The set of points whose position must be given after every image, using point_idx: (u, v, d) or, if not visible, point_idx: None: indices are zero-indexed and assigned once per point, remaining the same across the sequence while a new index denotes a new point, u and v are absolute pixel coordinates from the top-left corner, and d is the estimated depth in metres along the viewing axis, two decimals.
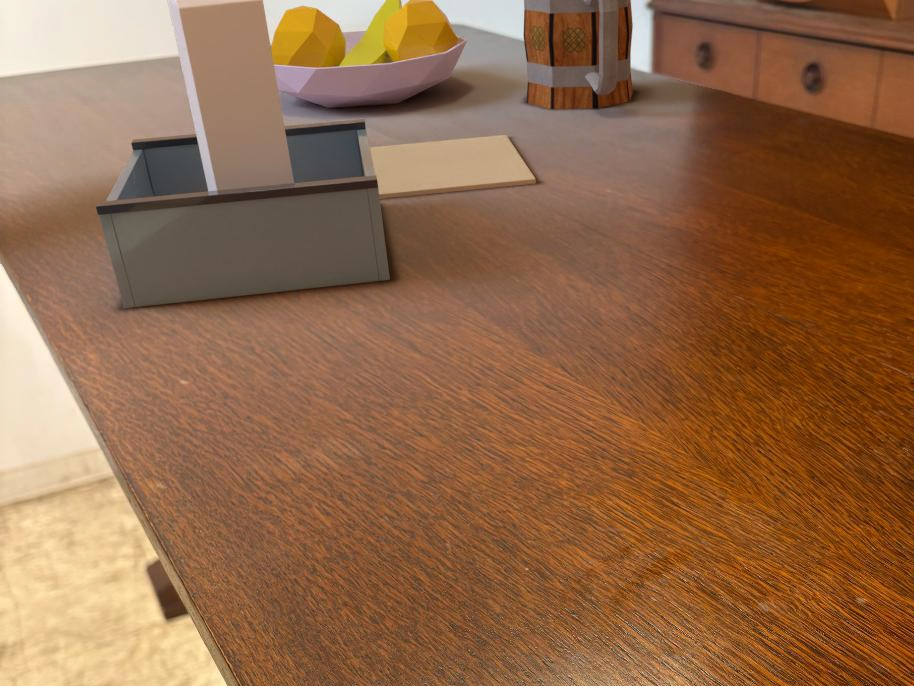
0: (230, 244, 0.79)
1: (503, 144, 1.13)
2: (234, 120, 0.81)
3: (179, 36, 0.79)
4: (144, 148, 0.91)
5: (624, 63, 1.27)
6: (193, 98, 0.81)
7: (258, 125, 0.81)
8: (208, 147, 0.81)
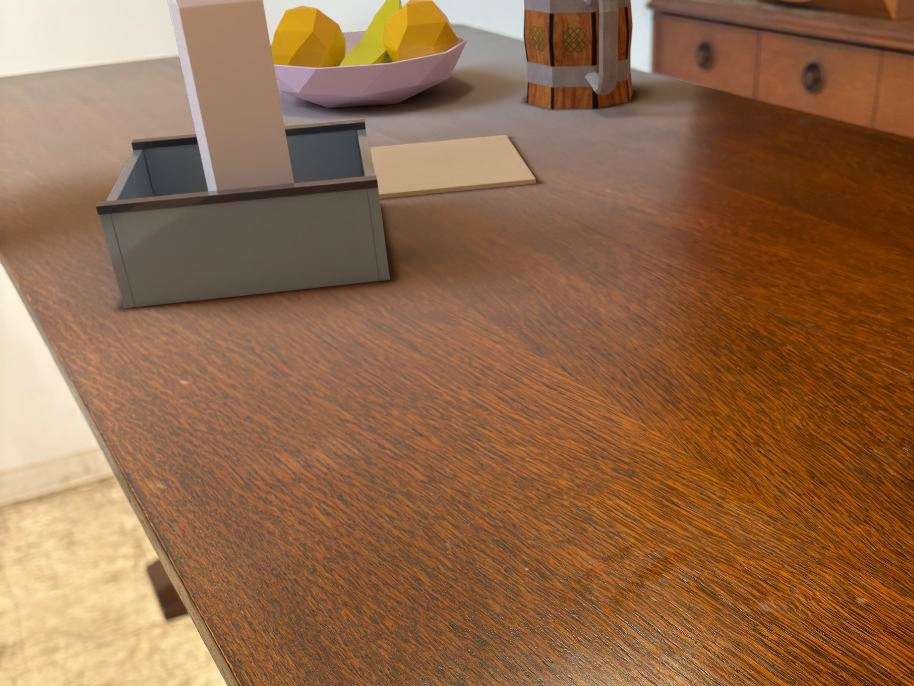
0: (230, 244, 0.79)
1: (503, 144, 1.13)
2: (234, 120, 0.81)
3: (179, 36, 0.79)
4: (144, 148, 0.91)
5: (624, 63, 1.27)
6: (193, 98, 0.81)
7: (258, 125, 0.81)
8: (208, 147, 0.81)
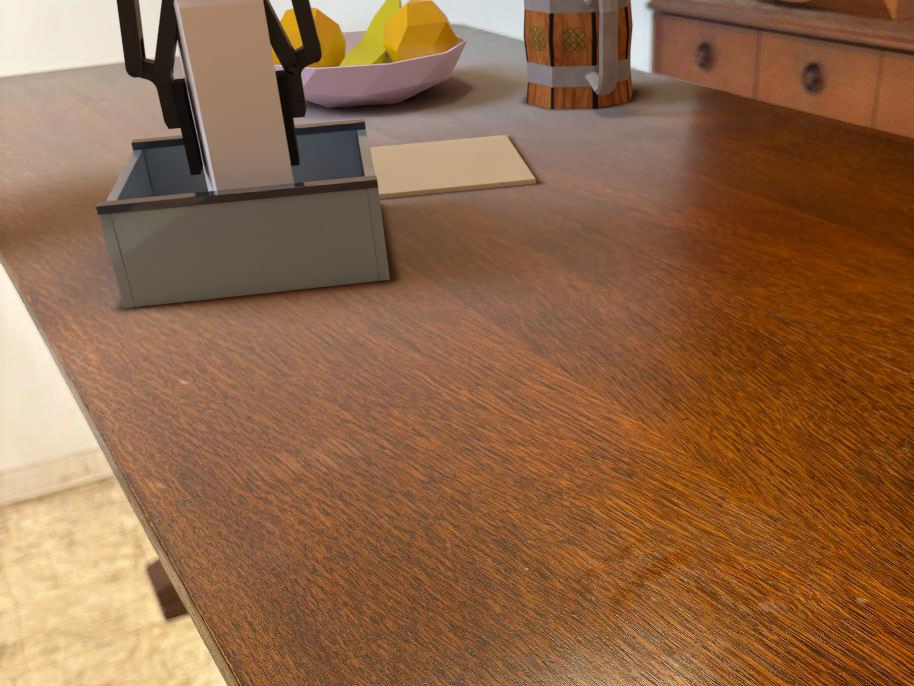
0: (230, 244, 0.79)
1: (503, 144, 1.13)
2: (234, 120, 0.81)
3: (179, 36, 0.79)
4: (144, 148, 0.91)
5: (624, 63, 1.27)
6: (193, 98, 0.81)
7: (258, 125, 0.81)
8: (208, 147, 0.81)
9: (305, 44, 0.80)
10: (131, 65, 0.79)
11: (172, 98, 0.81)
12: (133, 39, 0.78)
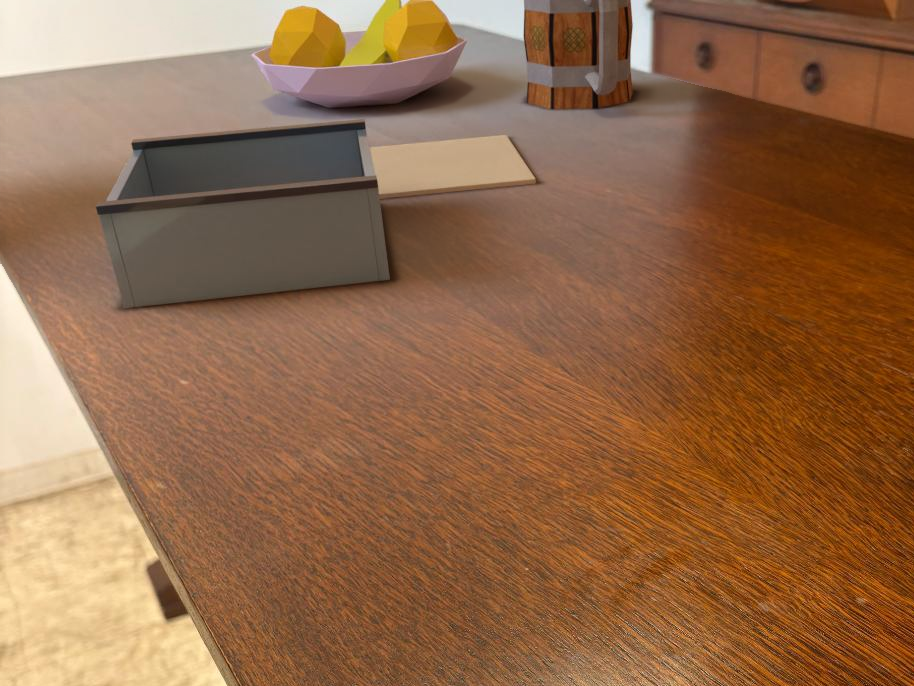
0: (230, 244, 0.79)
1: (503, 144, 1.13)
2: None
3: None
4: (144, 148, 0.91)
5: (624, 63, 1.27)
6: None
7: None
8: None
9: None
10: None
11: None
12: None
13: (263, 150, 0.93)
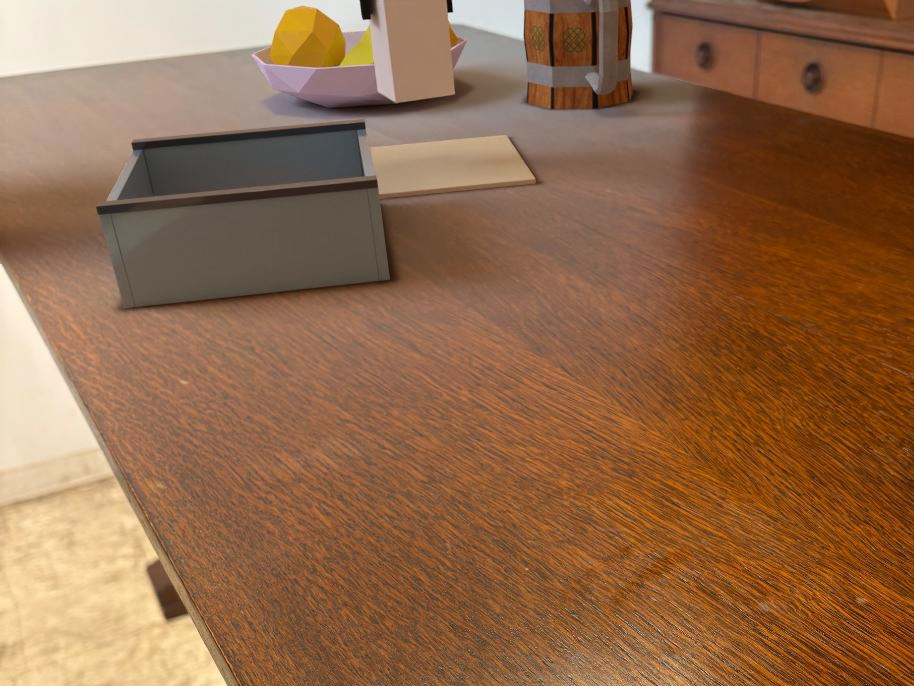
0: (230, 244, 0.79)
1: (503, 144, 1.13)
2: None
3: None
4: (144, 148, 0.91)
5: (624, 63, 1.27)
6: None
7: None
8: None
9: None
10: None
11: None
12: None
13: (263, 150, 0.93)
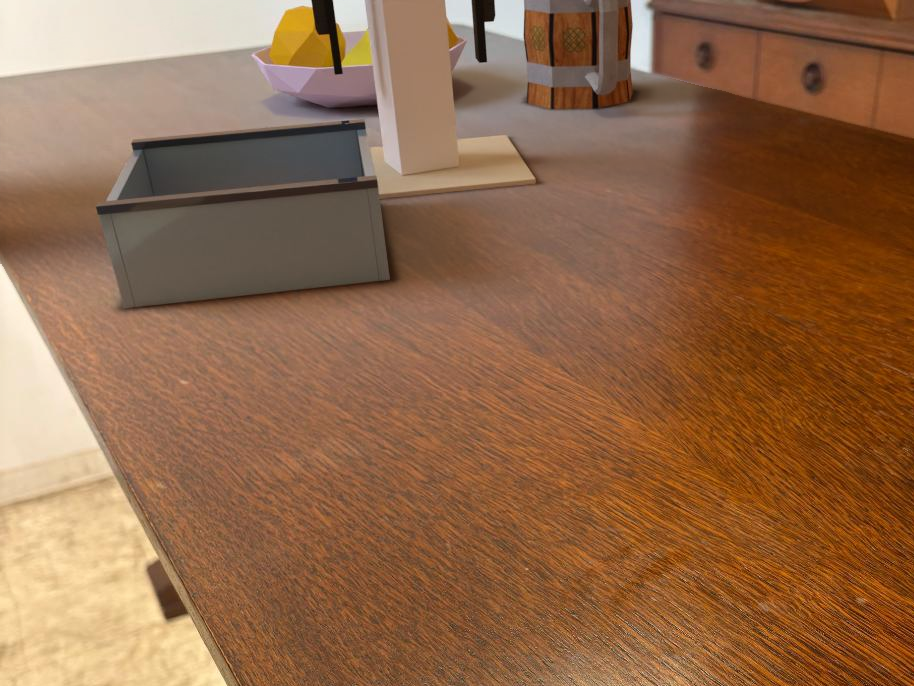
0: (230, 244, 0.79)
1: (503, 144, 1.13)
2: (412, 50, 0.99)
3: None
4: (144, 148, 0.91)
5: (624, 63, 1.27)
6: (378, 32, 1.00)
7: (430, 54, 1.00)
8: (390, 71, 1.00)
9: None
10: None
11: (323, 8, 0.98)
12: None
13: (263, 150, 0.93)
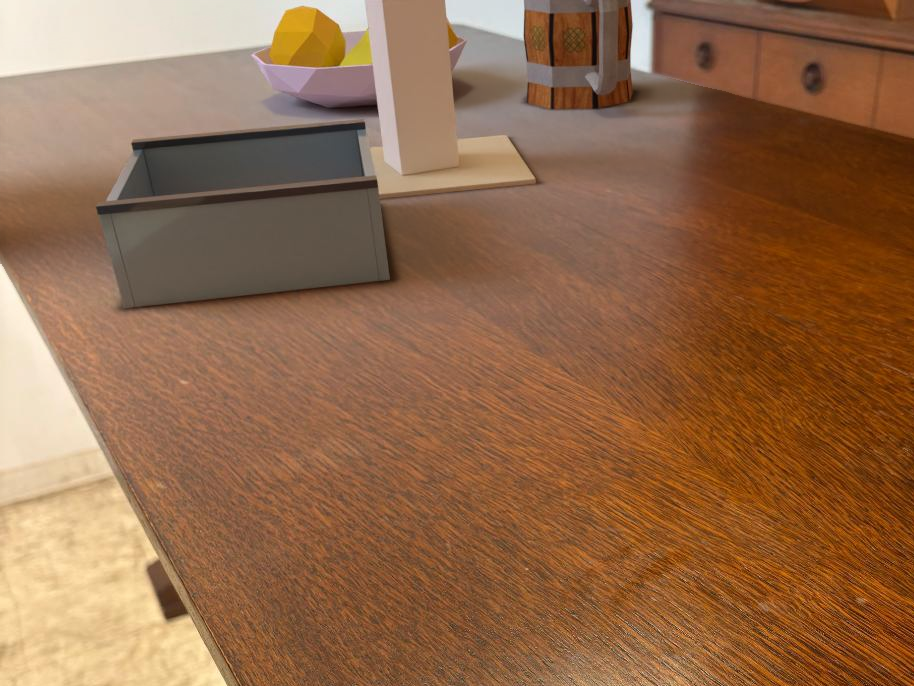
0: (230, 244, 0.79)
1: (503, 144, 1.13)
2: (412, 50, 0.99)
3: None
4: (144, 148, 0.91)
5: (624, 63, 1.27)
6: (378, 32, 1.00)
7: (430, 55, 1.00)
8: (390, 72, 1.00)
9: None
10: None
11: None
12: None
13: (263, 150, 0.93)
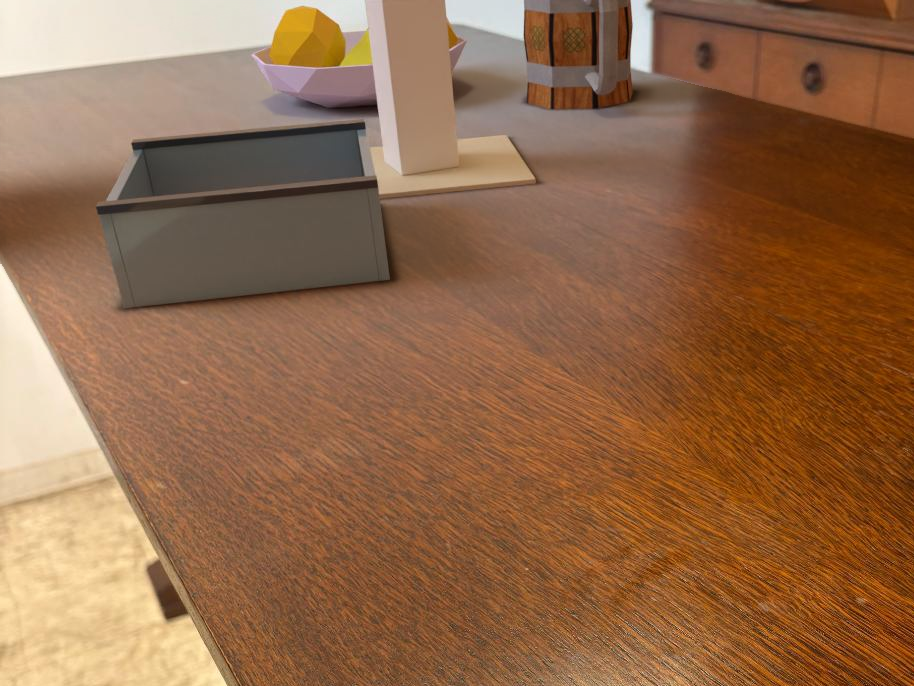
0: (230, 244, 0.79)
1: (503, 144, 1.13)
2: (412, 50, 0.99)
3: None
4: (144, 148, 0.91)
5: (624, 63, 1.27)
6: (378, 32, 1.00)
7: (430, 55, 1.00)
8: (390, 72, 1.00)
9: None
10: None
11: None
12: None
13: (263, 150, 0.93)
